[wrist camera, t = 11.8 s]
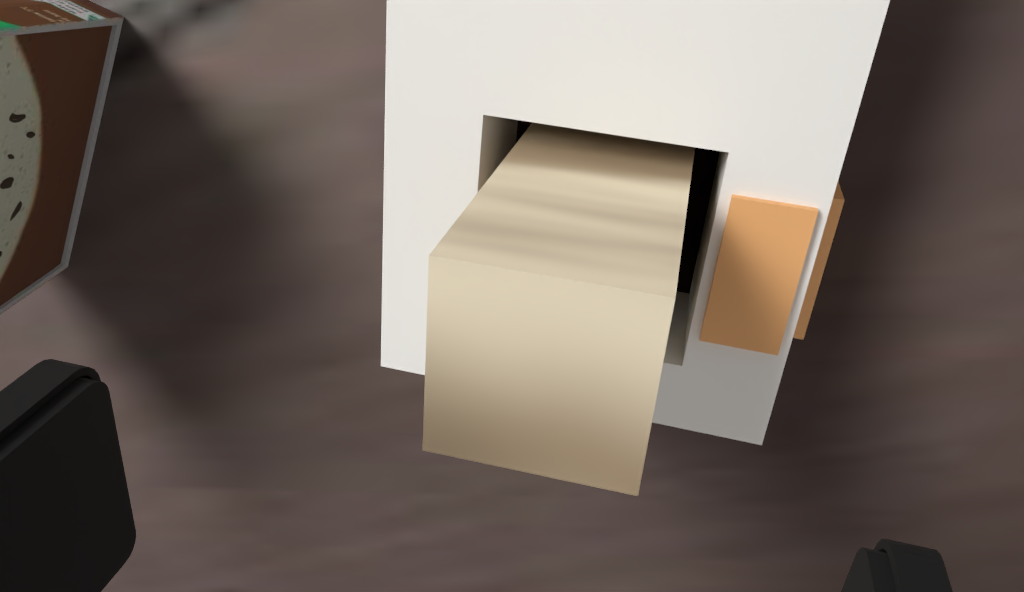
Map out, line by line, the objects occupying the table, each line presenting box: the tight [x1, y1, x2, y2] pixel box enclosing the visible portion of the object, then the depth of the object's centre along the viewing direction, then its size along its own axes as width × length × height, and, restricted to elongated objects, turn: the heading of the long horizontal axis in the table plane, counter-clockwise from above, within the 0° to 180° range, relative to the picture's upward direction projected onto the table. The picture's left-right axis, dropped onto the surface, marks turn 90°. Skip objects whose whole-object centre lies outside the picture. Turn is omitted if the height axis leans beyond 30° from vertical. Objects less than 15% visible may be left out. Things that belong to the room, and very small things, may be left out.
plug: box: [423, 122, 695, 496], centre depth 19 cm, size 4×4×10 cm
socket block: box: [381, 0, 890, 445], centre depth 19 cm, size 18×10×4 cm, turn 175°
